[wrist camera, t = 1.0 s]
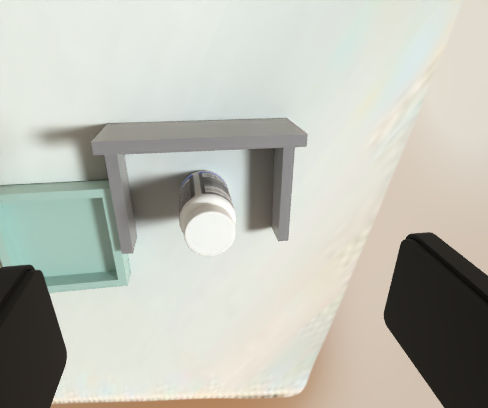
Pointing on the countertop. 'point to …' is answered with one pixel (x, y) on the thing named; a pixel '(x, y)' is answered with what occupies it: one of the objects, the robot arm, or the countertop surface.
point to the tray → (63, 234)
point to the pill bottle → (206, 213)
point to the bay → (197, 139)
